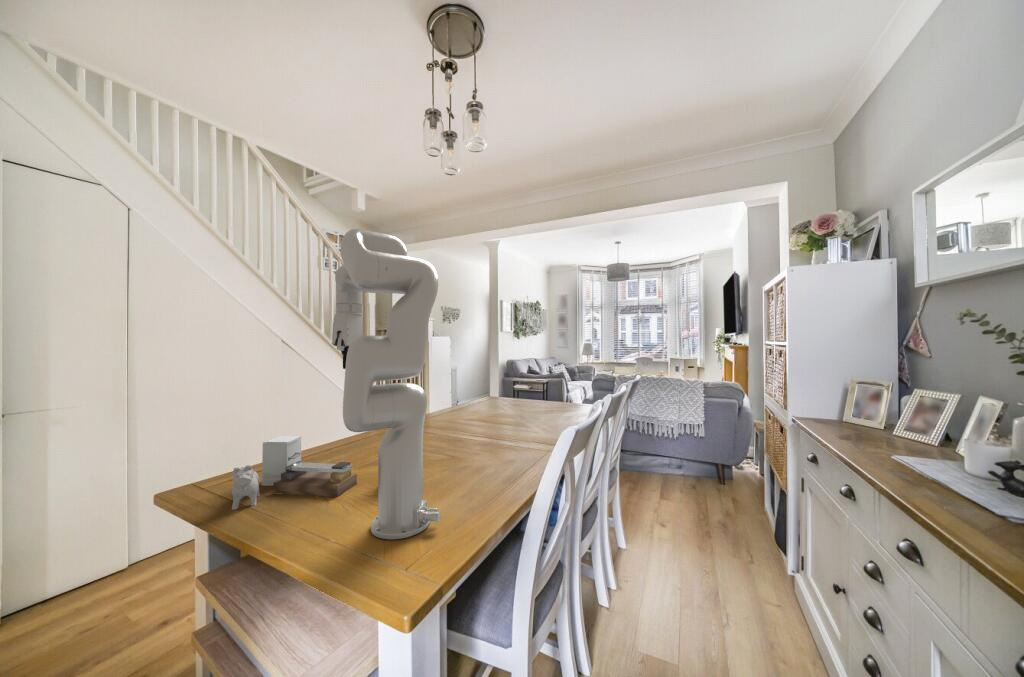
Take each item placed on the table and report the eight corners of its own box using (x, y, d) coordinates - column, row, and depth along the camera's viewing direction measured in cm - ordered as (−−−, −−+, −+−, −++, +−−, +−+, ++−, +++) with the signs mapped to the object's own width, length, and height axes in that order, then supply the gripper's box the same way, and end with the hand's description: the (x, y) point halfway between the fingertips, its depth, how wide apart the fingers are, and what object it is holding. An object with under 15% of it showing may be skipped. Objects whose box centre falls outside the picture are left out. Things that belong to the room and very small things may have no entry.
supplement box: (286, 486, 103) (286, 442, 103) (261, 486, 103) (261, 442, 103) (302, 476, 110) (302, 435, 110) (278, 476, 110) (278, 435, 111)
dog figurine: (228, 517, 85) (228, 471, 85) (236, 497, 95) (236, 457, 96) (255, 511, 87) (255, 467, 87) (260, 492, 98) (260, 453, 98)
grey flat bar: (352, 468, 102) (352, 462, 102) (342, 474, 97) (342, 467, 97) (297, 466, 104) (297, 459, 104) (285, 471, 100) (285, 464, 100)
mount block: (356, 483, 104) (356, 465, 104) (337, 496, 95) (337, 476, 95) (297, 481, 106) (297, 462, 107) (273, 493, 98) (273, 473, 98)
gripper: (351, 312, 120) (351, 367, 120) (322, 308, 105) (322, 370, 105) (372, 312, 119) (372, 367, 119) (346, 307, 104) (346, 370, 104)
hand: (349, 368), depth 112 cm, fingers closed
